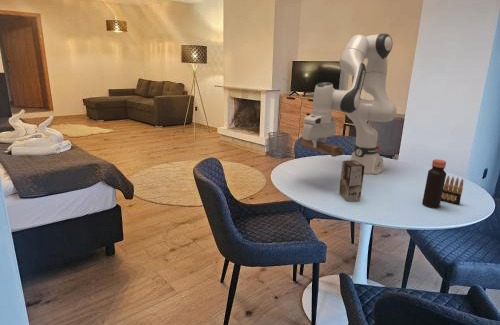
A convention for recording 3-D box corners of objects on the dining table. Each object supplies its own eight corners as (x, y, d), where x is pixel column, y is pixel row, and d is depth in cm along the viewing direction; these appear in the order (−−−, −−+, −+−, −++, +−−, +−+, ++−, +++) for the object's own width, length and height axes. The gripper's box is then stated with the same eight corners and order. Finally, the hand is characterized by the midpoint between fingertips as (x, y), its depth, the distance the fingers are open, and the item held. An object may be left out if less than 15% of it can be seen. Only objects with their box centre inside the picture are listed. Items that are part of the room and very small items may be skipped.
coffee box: (360, 201, 148) (365, 166, 144) (347, 201, 147) (351, 166, 142) (351, 193, 157) (355, 159, 152) (338, 193, 156) (342, 160, 151)
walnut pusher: (307, 145, 171) (307, 137, 170) (341, 155, 155) (342, 146, 154) (298, 146, 167) (299, 139, 166) (333, 156, 151) (334, 148, 150)
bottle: (424, 200, 150) (432, 157, 145) (441, 205, 146) (450, 161, 140) (420, 205, 145) (428, 161, 140) (437, 210, 141) (447, 164, 135)
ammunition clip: (431, 199, 153) (437, 173, 149) (432, 197, 154) (437, 172, 151) (459, 205, 147) (465, 179, 143) (459, 204, 148) (465, 178, 144)
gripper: (330, 115, 166) (327, 143, 170) (301, 118, 154) (299, 148, 158) (340, 117, 161) (337, 145, 165) (311, 120, 149) (309, 151, 153)
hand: (318, 147), depth 161 cm, fingers closed on walnut pusher, 3 cm apart
